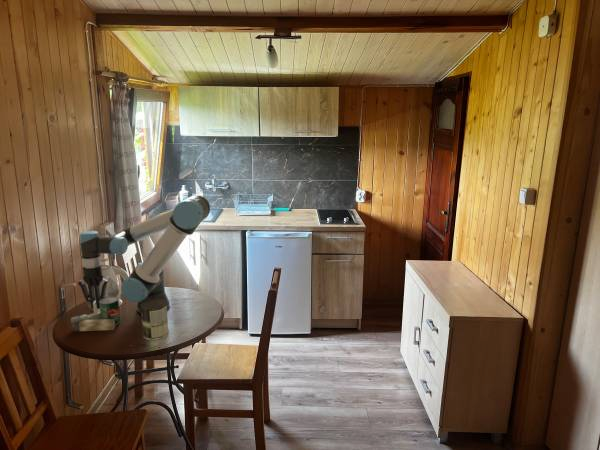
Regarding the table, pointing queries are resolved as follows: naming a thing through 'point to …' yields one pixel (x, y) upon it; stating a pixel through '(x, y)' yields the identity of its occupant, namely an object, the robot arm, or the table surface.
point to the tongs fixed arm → (94, 325)
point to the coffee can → (154, 319)
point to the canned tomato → (110, 309)
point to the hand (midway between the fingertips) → (96, 315)
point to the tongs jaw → (86, 317)
